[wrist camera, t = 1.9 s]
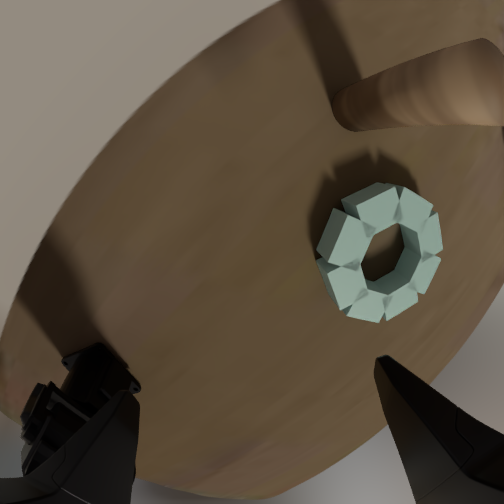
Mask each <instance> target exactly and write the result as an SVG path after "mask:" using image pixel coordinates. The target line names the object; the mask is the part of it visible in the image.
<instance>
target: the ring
mask: <svg viewBox="0 0 504 504" xmlns="http://www.w3.org/2000/svg"><path fill="white" fill-rule="evenodd" d="M341 201H342V204H343V207H344V210H345V212H346V213H345V212H343V211H340V210H338V209H335V208H333V210H332V212H331V215H330V217H329V220H328V222H327V225H326V227H325V230H324V232H323V235H322V237H321V239H320V242H319V244H318V246H317V249H316V250H317V251H318V253H319V254H320V255H321V256H322V258H320V259H318V260H316V262H317V265H318V268H319V270H320V273H321V275H322V278H323V280H324V283H325V286H326V288H327V291H328V294H329V296H330V297H331V298H332V300H333V301H334V302H335V304H336V305H337V307H338V308H339V309H340V310H343V312H344V313H345V314H346V316H349V317H354V318H358V319H363V320H367V321H372V322H377V323H379V321H380V319H381V318H382V316H383V318H384V319H385V320H386V321H388V320H389V319H391V318H393V317H394V316H396V315H398V314H399V313H401V312H402V311H404V310H406V309H407V308H409V307H410V306H412V305H413V304H415V303H416V302H418V297H417V292H419V293H422V294H425V292H426V290H427V288H428V286H429V284H430V282H431V280H432V278H433V276H434V274H435V271H436V269H437V267H438V265H439V263H440V261H441V258H439V257H437V256H436V255H435V254H437V253H438V252H440V251H441V250H443V246H442V238H441V231H440V224H439V218H438V213H437V212H435V211H432V207H433V205H432V204H431V203H429V202H428V201H426V200H425V199H423V198H422V197H420V196H418V195H417V194H415V193H414V192H412V191H410V190H409V189H407V188H405V187H403V186H399V185H395V184H390V183H386V184H383V183H378V182H377V183H375V184H372V185H370V186H368V187H366V188H364V189H362V190H360V191H358V192H355V193H353V194H351V195H349V196H347V197H345V198H343V199H341ZM395 223H399V224H400V228H401V232H402V237H403V241H404V246H405V247H404V249H403V252H402V254H401V256H400V258H399V260H398V263H397V265H396V267H395V269H394V270H393V271H392V272H390V273H388V274H386V275H385V276H383V277H381V278H379V279H378V280H376V281H374V282H372V281H369V280H366V279H364V275H363V272H362V268H361V265H360V264H361V262H362V260H363V258H364V255H365V253H366V251H367V249H368V246H369V244H370V242H371V239H372V237H373V235H375V234H376V233H378V232H380V231H382V230H384V229H386V228H388V227H389V226H391V225H393V224H395Z"/></svg>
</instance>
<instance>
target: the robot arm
mask: <svg viewBox="0 0 504 504" xmlns="http://www.w3.org/2000/svg"><path fill="white" fill-rule="evenodd" d="M100 348H101V349H100ZM61 362H62V364H63V365H64V366H65V367H66V369H67V370H68V371H69V373H68V375H67V377H66V379H65V381H64V383H63V384H62V386H61V388H60V389H59V388H58V387H56V385H55V384H54V383H53V382H52V381H50V382H49V383H48V385H47V386H46V385H45V384H44V385H43V384H40V383H37V385H36V386H35V388H34V390H33V391H32V393H31V395H30V397H29V399H28V400H27V403H26V405H25V407H24V409H23V411H22V414H21V416H20V418H21V421H22V433H21V437H20V438H21V439H22V440H24V441H25V445H24V446H23V448H22V451H21V461H22V472H23V477H19V478H0V504H130V502H131V492H132V485H133V482H134V479H135V474H136V467H135V459H136V452H137V445H138V435H139V416H140V404H139V402H138V401H137V399H136V398H135V397H134V396H133V394H135V393H139V392H140V391H141V386H140V385H139V384H138V383H137V382H136V381H135V380H134V379H133V377H132V376H131V375H130V374H129V373H128V372H127V371H126V370H125V369H124V368H123V367H122V366H121V364H120V363H119V362H118V361H117V360H116V359H115V358H114V357H113V355H112V354H111V353H110V352H109V351H108V350H107V348H106V347H105V346H104V345H103V344H102V343H96V344H94V345H91V346H89V347H87V348H84V349H82V350H80V351H78V352H75V353H73V354H71V355H68V356H66V357H64V358H63V359H62V361H61ZM374 378H375V382H376V386H377V389H378V393H379V397H380V400H381V404H382V408H383V412H384V415H385V418H386V420H387V423H388V425H389V428H390V430H391V433H392V436H393V438H394V441H395V444H396V446H397V449H398V451H399V455H400V457H401V460H402V463H403V466H404V469H405V471H406V474H407V477H408V480H409V483H410V486H411V489H412V492H413V496H414V499H415V501H416V504H504V434H502V433H500V432H498V431H496V430H494V429H492V428H490V427H489V426H487V425H485V424H483V423H482V422H480V421H478V420H476V419H475V418H473V417H472V416H471V415H469V414H467V413H466V412H465V411H463V410H462V409H461V408H459V407H457V406H456V405H455V404H454V403H452V402H451V401H450V400H448V399H447V398H446V397H444V396H443V395H442V394H440V393H439V392H437V391H436V390H435V389H433V388H432V387H431V386H429V385H428V384H427V383H425V382H424V381H423V380H421V379H420V378H419V377H417V376H416V375H415V374H413V373H412V372H410V371H409V370H408V369H406V368H405V367H404V366H402V365H401V364H400V363H398V362H397V361H396V360H394V359H393V358H392V357H390V356H389V355H383V356H380V357H377V358H376V361H375V368H374Z"/></svg>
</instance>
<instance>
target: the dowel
mask: <svg viewBox="0 0 504 504" xmlns="http://www.w3.org/2000/svg"><path fill="white" fill-rule="evenodd" d="M332 110H333V114H334V116H335V118H336V120H337V121H338V123H339V124H340V125H341V126H342V127H344V128H345V129H347V130H350V131H354V132H358V131H366V130H375V129H385V128H396V127H410V126H428V125H492V126H504V55H503V54H502V53H501V51H500V50H499V49H498V48H497V47H496V46H495V45H494V44H493V43H492V42H490V41H489V40H487V39H484V38H480V39H476V40H472V41H468V42H464V43H461V44H457V45H454V46H451V47H447V48H444V49H441V50H438V51H435V52H432V53H429V54H426V55H423V56H420V57H417V58H415V59H412V60H409V61H407V62H404V63H401V64H399V65H396V66H394V67H391V68H389V69H386V70H384V71H382V72H379V73H377V74H375V75H372V76H370V77H368V78H366V79H363V80H361V81H359V82H357V83H354V84H352V85H350V86H348V87H346V88H344V89H342V90H340V91H339V92H337V94H336V95H335V96H334V98H333V102H332Z"/></svg>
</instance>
